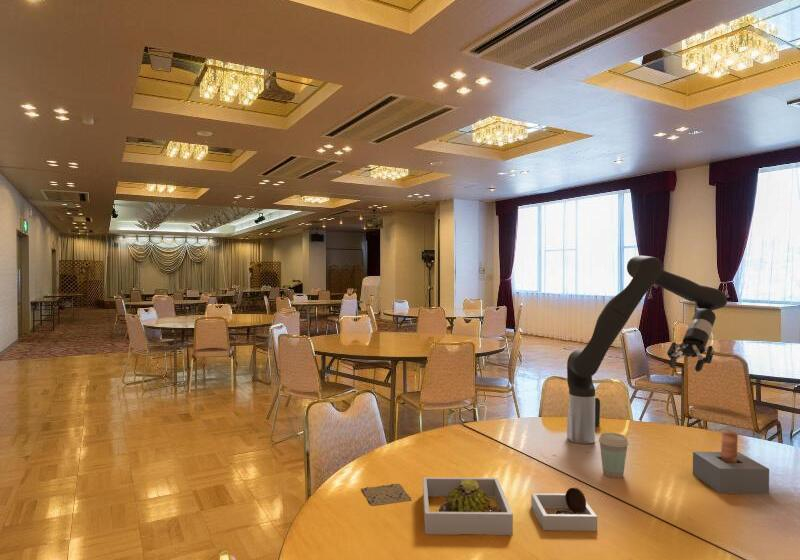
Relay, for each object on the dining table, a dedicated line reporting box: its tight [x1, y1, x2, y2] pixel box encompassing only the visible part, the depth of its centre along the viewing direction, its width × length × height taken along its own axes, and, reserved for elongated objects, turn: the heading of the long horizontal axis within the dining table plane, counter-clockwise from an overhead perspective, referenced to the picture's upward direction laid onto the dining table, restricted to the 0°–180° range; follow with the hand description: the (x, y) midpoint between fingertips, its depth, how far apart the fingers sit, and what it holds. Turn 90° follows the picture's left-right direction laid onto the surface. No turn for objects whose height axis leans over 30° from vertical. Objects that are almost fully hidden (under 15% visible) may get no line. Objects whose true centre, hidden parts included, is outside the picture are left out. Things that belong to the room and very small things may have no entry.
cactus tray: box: [422, 476, 514, 536], centre depth 137 cm, size 21×22×5 cm
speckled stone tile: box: [360, 483, 413, 507], centre depth 148 cm, size 12×12×1 cm
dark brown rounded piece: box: [552, 487, 587, 514], centre depth 133 cm, size 8×8×7 cm
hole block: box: [692, 451, 770, 494], centre depth 156 cm, size 14×14×7 cm
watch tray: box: [530, 492, 598, 532], centre depth 134 cm, size 13×13×4 cm
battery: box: [595, 396, 601, 426], centre depth 216 cm, size 7×4×11 cm, turn 106°
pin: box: [720, 430, 738, 463], centre depth 156 cm, size 4×4×14 cm
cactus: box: [438, 477, 501, 512], centre depth 135 cm, size 17×16×10 cm
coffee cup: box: [598, 432, 629, 479], centre depth 163 cm, size 8×9×12 cm
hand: (683, 368), depth 186 cm, fingers open, 8 cm apart
